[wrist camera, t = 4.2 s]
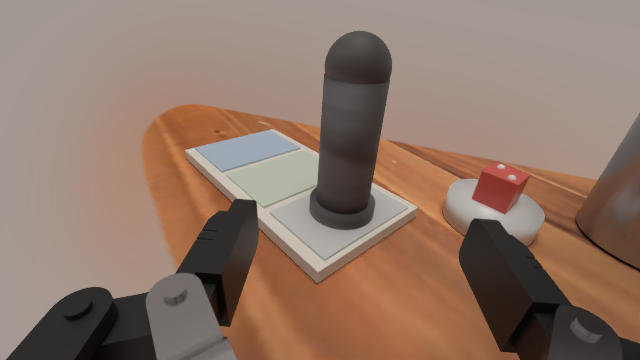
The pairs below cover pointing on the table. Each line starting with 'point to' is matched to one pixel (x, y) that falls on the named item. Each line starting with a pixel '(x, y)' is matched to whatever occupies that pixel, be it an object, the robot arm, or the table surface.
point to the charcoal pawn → (350, 130)
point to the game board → (293, 199)
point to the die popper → (494, 202)
